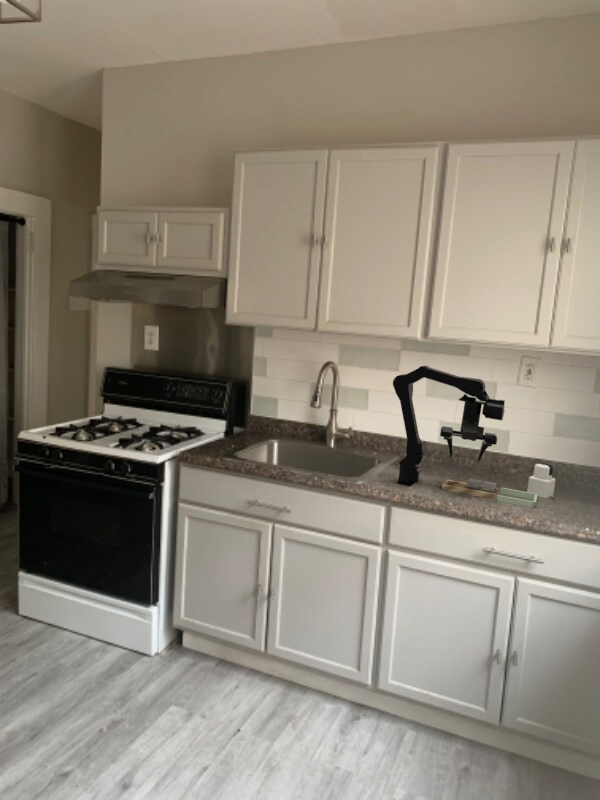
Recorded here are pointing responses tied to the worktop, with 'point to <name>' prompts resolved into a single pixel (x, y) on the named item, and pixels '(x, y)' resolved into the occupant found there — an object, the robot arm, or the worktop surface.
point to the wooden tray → (462, 488)
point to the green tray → (515, 500)
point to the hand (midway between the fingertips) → (464, 459)
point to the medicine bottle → (542, 481)
